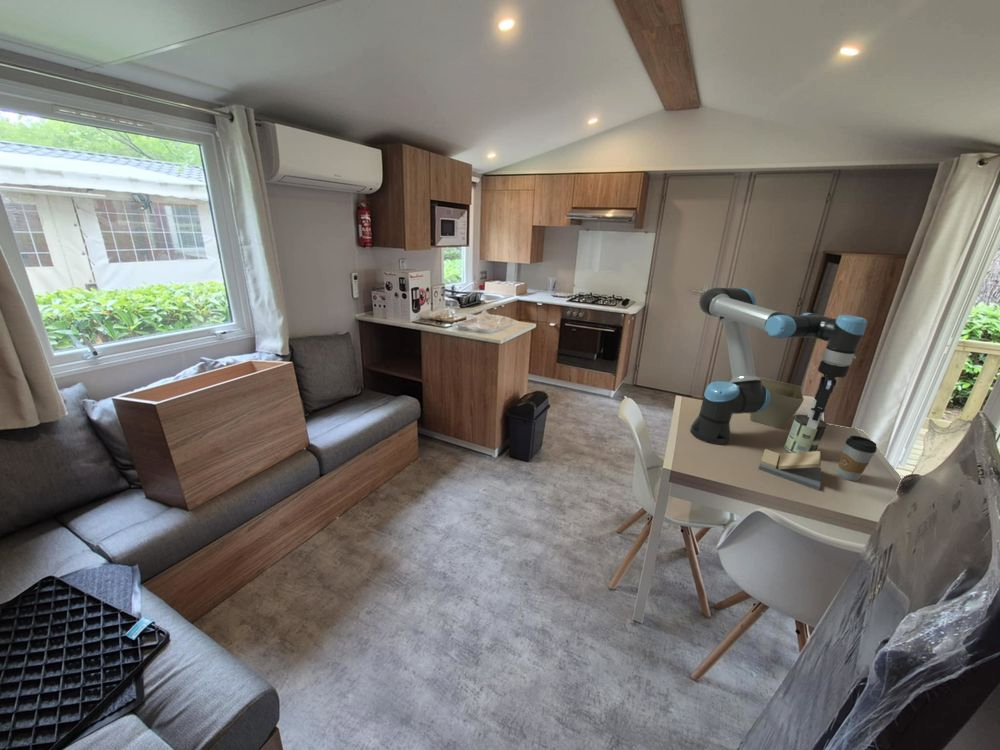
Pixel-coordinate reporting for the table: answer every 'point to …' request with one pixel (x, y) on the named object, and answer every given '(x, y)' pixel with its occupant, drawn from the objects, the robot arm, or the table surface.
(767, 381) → the flower pot
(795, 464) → the plank
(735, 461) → the table surface
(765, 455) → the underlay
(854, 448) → the coffee cup
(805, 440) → the coffee can
